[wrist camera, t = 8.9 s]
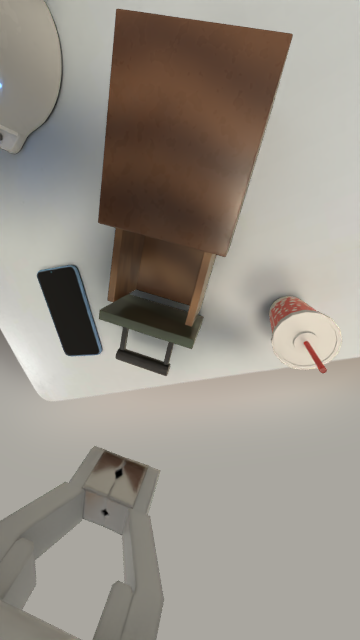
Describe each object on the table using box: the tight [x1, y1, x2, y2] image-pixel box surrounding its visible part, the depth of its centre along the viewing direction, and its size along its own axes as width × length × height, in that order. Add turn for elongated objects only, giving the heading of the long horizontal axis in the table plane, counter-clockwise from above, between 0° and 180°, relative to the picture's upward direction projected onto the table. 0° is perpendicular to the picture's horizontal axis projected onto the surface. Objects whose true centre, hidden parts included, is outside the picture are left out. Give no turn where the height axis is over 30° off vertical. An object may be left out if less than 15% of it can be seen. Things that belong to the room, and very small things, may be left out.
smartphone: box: [37, 265, 102, 356], centre depth 38 cm, size 7×1×15 cm
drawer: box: [99, 228, 216, 376], centre depth 29 cm, size 19×11×8 cm, turn 166°
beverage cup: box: [269, 296, 342, 373], centre depth 24 cm, size 6×6×14 cm
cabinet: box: [98, 9, 293, 257], centre depth 23 cm, size 15×13×10 cm
